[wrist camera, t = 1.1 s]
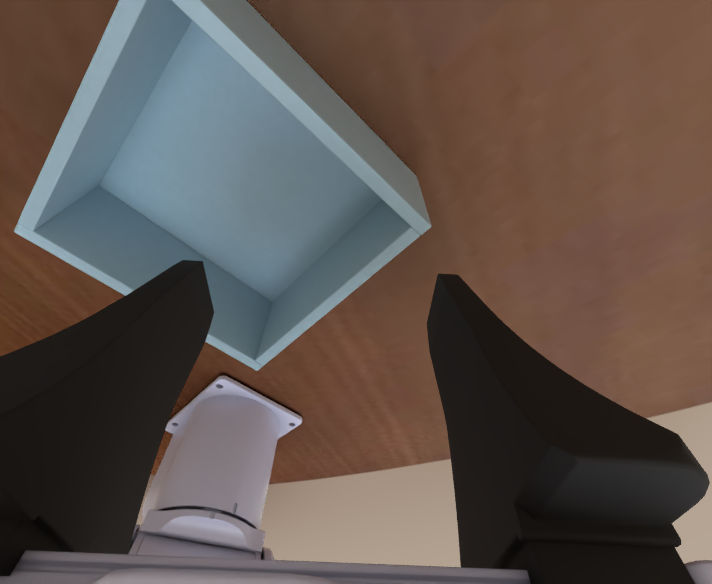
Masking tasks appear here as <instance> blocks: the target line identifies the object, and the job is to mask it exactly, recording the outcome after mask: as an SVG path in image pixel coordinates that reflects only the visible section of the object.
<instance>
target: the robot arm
mask: <svg viewBox="0 0 712 584" xmlns="http://www.w3.org/2000/svg"><path fill="white" fill-rule="evenodd" d="M213 315H214V309H213V304H212V300H211V295H210V291H209V286H208V282H207V277H206V273H205V268H204V264H203V261H193V260H182V261H180V262H178V263H176V264H175V265H173V266H171V267H170V268H168V269H167V270H165V271H164V272H162V273H160V274H159V275H157V276H156V277H154V278H153V279H151V280H150V281H148V282H147V283H145V284H143V285H142V286H140V287H139V288H137V289H136V290H134V291H132V292H131V293H129V294H128V295H126V296H124V297H123V298H121V299H119V300H118V301H116V302H114V303H113V304H111V305H109V306H107V307H106V308H104V309H102V310H101V311H99V312H97V313H95V314H94V315H92V316H90V317H88V318H86V319H84V320H82V321H80V322H78V323H77V324H74V325H72V326H70V327H68V328H66V329H64V330H62V331H60V332H58V333H56V334H54V335H51V336H49V337H47V338H45V339H42V340H40V341H37V342H35V343H33V344H30V345H28V346H25V347H23V348H21V349H18V350H16V351H13V352H11V353H9V354H6V355H3V356H1V357H0V584H712V561H710V560H709V561H708V560H703V561H694V562H689V563H686V564H684V563H683V562H682V560H681V558H680V556H679V555H678V553H677V551H676V549H675V547H678V546H679V545H681V539H680V537H679V536H678V534H677V532H676V530H675V529H674V527H673V525H672V524H671V523H673V522H674V521H675V520H676V519H678V518H679V517H680V516H681V515H683V514H684V513H685V512H687V511H688V510H689V509H690V508H692V507H693V506H694V505H696V504H697V503H698V502H699V501H700V500H701V499H702V498H703V497H704V496H705V494H706V491H707V489H708V486H709V479H708V475H707V474H706V472H705V471H704V470H703V468H702V467H701V465H700V464H699V463H698V461H697V460H696V458H695V457H694V456H693V454H692V453H691V451H690V450H689V449H688V447H687V446H686V445H685V443H684V442H683V441H682V439H681V438H680V436H679V435H678V434H676V433H674V432H672V431H670V430H668V429H666V428H664V427H662V426H660V425H658V424H656V423H654V422H652V421H650V420H648V419H646V418H644V417H642V416H640V415H638V414H636V413H633V412H631V411H630V410H628V409H626V408H624V407H622V406H620V405H619V404H617V403H615V402H613V401H611V400H610V399H608V398H606V397H604V396H603V395H601V394H599V393H597V392H596V391H594V390H592V389H591V388H589V387H587V386H586V385H584V384H583V383H581V382H579V381H578V380H576V379H575V378H573V377H572V376H570V375H569V374H567V373H566V372H564V371H563V370H561V369H560V368H558V367H557V366H556V365H554V364H553V363H551V362H550V361H549V360H547V359H546V358H545V357H543V356H542V355H541V354H539V353H538V352H537V351H536V350H534V349H533V348H532V347H530V346H529V345H528V344H527V343H526V342H524V341H523V340H522V339H521V338H520V337H519V336H518V335H516V334H515V333H514V332H513V331H512V330H511V329H510V328H509V327H508V326H506V325H505V324H504V323H503V322H502V321H501V320H500V319H499V318H498V317H497V316H496V315H495V314H494V313H493V312H492V311H491V310H490V309H489V308H488V307H487V306H486V305H485V304H484V303H483V301H482V300H481V299H480V298H479V297H478V296H477V295H476V294H475V293H474V292H473V291H472V290H471V288H470V287H469V286H468V285H467V284H466V283H465V282H464V281H463V280H462V279H461V278H460V277H459V276H458V275H452V274H438V276H437V281H436V285H435V290H434V294H433V299H432V303H431V308H430V312H429V317H428V321H427V329H428V340H429V349H430V355H431V359H432V363H433V368H434V372H435V376H436V380H437V385H438V389H439V393H440V397H441V401H442V405H443V410H444V414H445V419H446V424H447V431H448V439H449V446H450V454H451V462H452V471H453V480H454V489H455V500H456V510H457V522H458V533H459V547H460V561H461V568H460V567H436V566H435V567H434V566H409V565H385V564H359V563H334V562H310V561H285V560H275V559H274V557H273V554H272V551H271V550H270V549H269V548H264V547H263V543H264V537H265V531H262V530H260V526H261V520H262V515H263V510H264V505H265V500H266V495H267V490H268V485H269V480H270V475H271V470H272V465H273V460H274V455H275V450H276V445H277V440H278V439H279V438H281V437H282V436H284V435H285V434H287V433H288V432H290V431H291V430H293V429H294V428H296V427H297V426H299V425H300V424H301V423H302V417H301V416H299V415H297V414H296V413H294V412H292V411H290V410H288V409H286V408H285V407H283V406H281V405H279V404H277V403H275V402H274V401H272V400H270V399H268V398H266V397H264V396H263V395H261V394H259V393H257V392H255V391H253V390H251V389H250V388H248V387H246V386H244V385H242V384H240V383H239V382H237V381H235V380H233V379H231V378H229V377H228V376H224V375H222V376H219V377H218V378H217V379H216V380H214V381H213V382H212V383H211V384H210V385H209V386H208V387H207V388H205V389H204V390H203V391H202V392H201V393H200V394H199V395H197V396H196V397H195V398H194V399H193V400H192V401H191V402H190V403H188V404H187V405H186V406H185V407H184V408H183V409H182V410H181V411H179V412H178V413H177V414H176V415H175V416H174V417H173V418H172V419H170V420H169V418H170V415H171V413H172V410H173V408H174V406H175V403H176V401H177V399H178V397H179V395H180V393H181V391H182V389H183V386H184V384H185V382H186V380H187V378H188V376H189V374H190V372H191V370H192V368H193V366H194V364H195V362H196V360H197V358H198V356H199V354H200V351H201V349H202V347H203V345H204V343H205V341H206V338H207V335H208V332H209V329H210V326H211V322H212V319H213ZM165 430H166V431H167V432H169V433H172V434H173V436H172V439H171V441H170V443H169V445H168V448H167V450H166V452H165V455H164V457H163V459H162V461H161V464H160V466H159V468H158V470H157V473H156V475H155V477H154V480H153V482H152V484H151V487H150V489H149V491H148V493H147V495H146V498H145V501H144V505H143V511H142V517H143V523H142V525H141V528H140V525H136V522H137V518H138V514H139V511H140V507H141V504H142V500H143V497H144V494H145V490H146V487H147V484H148V480H149V477H150V474H151V471H152V468H153V464H154V461H155V458H156V455H157V452H158V449H159V446H160V443H161V440H162V437H163V435H164V432H165ZM139 529H140V530H139Z"/></svg>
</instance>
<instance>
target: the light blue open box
mask: <svg viewBox="0 0 712 584" xmlns="http://www.w3.org/2000/svg"><path fill="white" fill-rule="evenodd" d="M429 228H431V223H430V219H429V216H428V213H427V209H426V206H425V202H424V199H423V196H422V192H421V189H420V186H419V182H418V179H417V176H416V175H415V174H414V173H413V172H412V171H411V170H410V169H409V168H408V167H407V166H406V165H405V164H404V163H403V162H402V161H401V160H400V159H399V158H398V157H397V156H396V154H395V153H394V152H393V151H392V150H391V149H390V148H389V147H388V146H387V145H386V144H385V143H384V142H383V141H382V140H381V139H380V138H379V137H378V136H377V135H376V134H375V133H374V132H373V131H372V130H371V129H370V128H369V127H368V126H367V125H366V124H365V122H364V121H363V120H362V119H361V118H360V117H359V116H358V115H357V114H356V113H355V112H354V111H353V110H352V109H351V108H350V107H349V106H348V105H347V104H346V103H345V102H344V101H343V100H342V99H341V98H340V97H339V96H338V95H337V94H336V93H335V91H334V90H333V89H332V88H331V87H330V86H329V85H328V84H327V83H326V82H325V81H324V80H323V79H322V78H321V77H320V76H319V75H318V74H317V73H316V72H315V71H314V70H313V69H312V68H311V67H310V66H309V65H308V64H307V63H306V62H305V61H304V59H303V58H302V57H301V56H300V55H299V54H298V53H297V52H296V51H295V50H294V49H293V48H292V47H291V46H290V45H289V44H288V43H287V42H286V41H285V40H284V39H283V38H282V37H281V36H280V35H279V34H278V33H277V32H276V31H275V30H274V29H273V27H272V26H271V25H270V24H269V23H268V22H267V21H266V20H265V19H264V18H263V17H262V16H261V15H260V14H259V13H258V12H257V11H256V10H255V9H254V8H253V7H252V6H251V5H250V4H249V3H248V2H247V1H246V0H119V2H118V4H117V6H116V8H115V10H114V12H113V15H112V17H111V19H110V21H109V23H108V26H107V28H106V30H105V32H104V34H103V37H102V39H101V41H100V43H99V45H98V48H97V50H96V52H95V54H94V56H93V58H92V61H91V63H90V65H89V67H88V69H87V72H86V74H85V76H84V78H83V80H82V83H81V85H80V87H79V89H78V91H77V94H76V96H75V98H74V100H73V102H72V104H71V107H70V109H69V111H68V113H67V115H66V118H65V120H64V122H63V124H62V126H61V129H60V131H59V133H58V135H57V137H56V139H55V142H54V144H53V146H52V148H51V150H50V153H49V155H48V157H47V159H46V161H45V164H44V166H43V168H42V170H41V172H40V175H39V177H38V179H37V181H36V183H35V185H34V188H33V190H32V192H31V194H30V196H29V199H28V201H27V203H26V205H25V207H24V210H23V212H22V214H21V216H20V218H19V221H18V223H17V226H16V228H15V230H14V232H15V233H17V234H18V235H20V236H22V237H24V238H25V239H27V240H29V241H31V242H32V243H34V244H36V245H38V246H39V247H41V248H43V249H45V250H46V251H48V252H50V253H52V254H53V255H55V256H57V257H59V258H60V259H62V260H64V261H66V262H67V263H69V264H71V265H73V266H74V267H76V268H78V269H80V270H81V271H83V272H85V273H87V274H88V275H90V276H92V277H94V278H95V279H97V280H99V281H101V282H102V283H104V284H106V285H108V286H109V287H111V288H113V289H115V290H116V291H118V292H120V293H122V294H123V295H125V296H126V295H128V294H129V293H131V292H132V291H134V290H136V289H137V288H139V287H140V286H142V285H143V284H145V283H147V282H148V281H150V280H151V279H153V278H154V277H156V276H157V275H159V274H160V273H162V272H164V271H165V270H167V269H168V268H170V267H171V266H173V265H175V264H176V263H178V262H180V261H182V260H193V261H203V264H204V268H205V273H206V277H207V282H208V286H209V291H210V295H211V300H212V304H213V309H214V315H213V319H212V322H211V326H210V329H209V332H208V335H207V338H206V342H207V343H209V344H211V345H212V346H214V347H216V348H218V349H219V350H221V351H223V352H225V353H226V354H228V355H230V356H232V357H233V358H235V359H237V360H239V361H240V362H242V363H244V364H246V365H247V366H249V367H251V368H253V369H254V370H256V371H258V370H259V369H260V368H261V367H263V365H265V364H266V363H267V362H269V361H270V360H271V359H272V358H273V357H275V356H276V355H277V354H278V353H279V352H281V351H282V350H283V349H284V348H285V347H287V346H288V345H289V344H290V343H291V342H293V341H294V340H295V339H296V338H298V337H299V336H300V335H301V334H302V333H304V332H305V331H306V330H307V329H308V328H310V327H311V326H312V325H313V324H314V323H316V322H317V321H318V320H319V319H320V318H322V317H323V316H324V315H325V314H326V313H328V312H329V311H330V310H331V309H332V308H334V307H335V306H336V305H337V304H339V303H340V302H341V301H342V300H343V299H345V298H346V297H347V296H348V295H349V294H351V293H352V292H353V291H354V290H355V289H357V288H358V287H359V286H360V285H361V284H363V283H364V282H365V281H366V280H367V279H369V278H370V277H371V276H372V275H374V274H375V273H376V272H377V271H378V270H380V269H381V268H382V267H383V266H384V265H386V264H387V263H388V262H389V261H390V260H392V259H393V258H394V257H395V256H396V255H398V254H399V253H400V252H401V251H402V250H404V249H405V248H406V247H407V246H408V245H410V244H411V243H412V242H413V241H415V240H416V239H417V238H418V237H419V236H420V235H422V234H423V233H425V232H426V231H427V230H428V229H429Z"/></svg>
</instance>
